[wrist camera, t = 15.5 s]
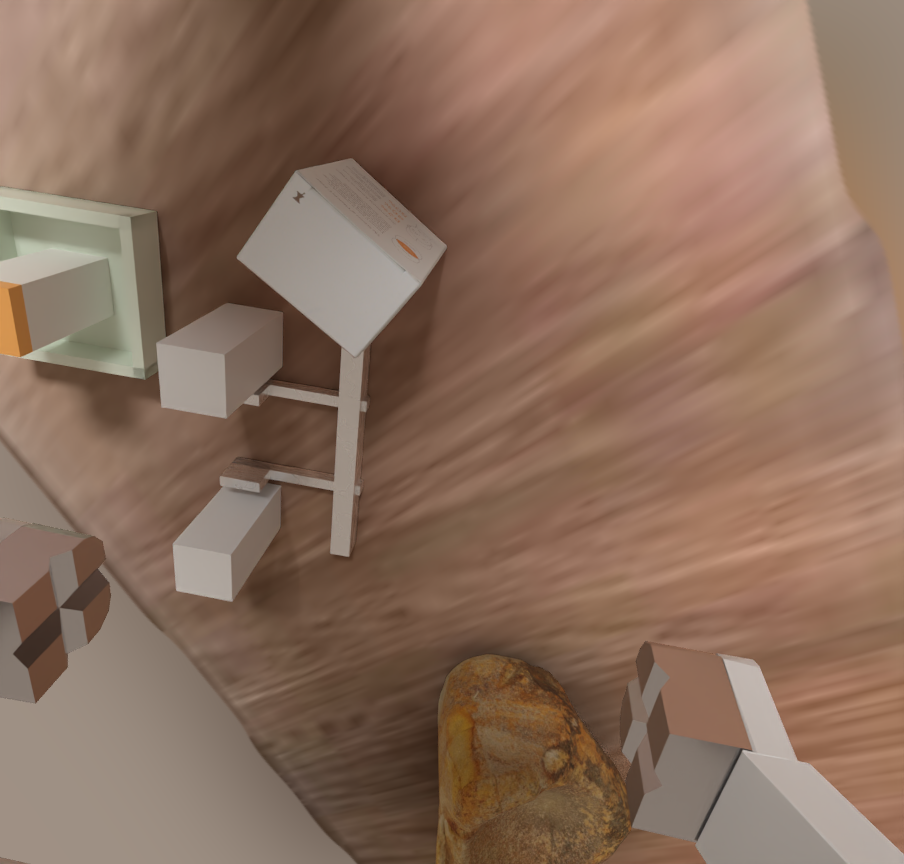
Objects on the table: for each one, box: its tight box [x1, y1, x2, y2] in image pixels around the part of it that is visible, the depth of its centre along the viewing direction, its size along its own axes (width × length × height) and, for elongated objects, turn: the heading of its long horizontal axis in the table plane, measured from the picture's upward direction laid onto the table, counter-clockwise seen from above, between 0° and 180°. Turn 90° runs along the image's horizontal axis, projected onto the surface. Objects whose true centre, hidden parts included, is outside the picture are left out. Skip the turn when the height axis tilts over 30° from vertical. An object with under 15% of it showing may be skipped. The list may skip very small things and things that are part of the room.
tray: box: [0, 186, 166, 380], centre depth 43 cm, size 11×11×3 cm
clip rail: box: [220, 343, 371, 557], centre depth 47 cm, size 18×10×3 cm, turn 173°
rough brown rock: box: [436, 654, 631, 864], centre depth 52 cm, size 23×17×15 cm
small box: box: [237, 158, 447, 358], centre depth 36 cm, size 8×6×10 cm
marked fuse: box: [0, 248, 114, 357], centre depth 40 cm, size 4×4×9 cm
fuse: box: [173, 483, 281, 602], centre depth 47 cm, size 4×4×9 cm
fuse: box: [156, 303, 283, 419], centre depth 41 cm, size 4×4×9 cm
